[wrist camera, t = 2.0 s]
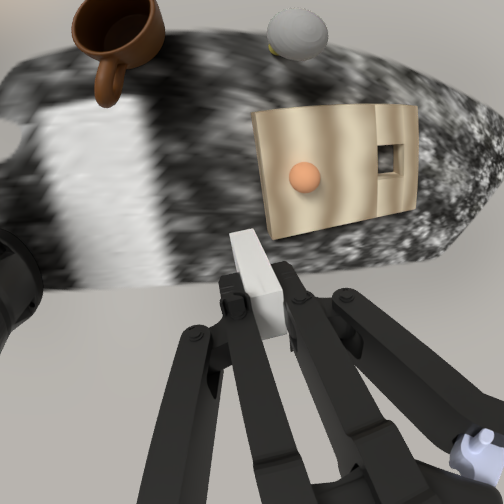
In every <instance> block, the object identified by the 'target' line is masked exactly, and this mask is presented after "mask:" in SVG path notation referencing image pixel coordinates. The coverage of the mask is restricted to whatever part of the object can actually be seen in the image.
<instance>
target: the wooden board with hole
mask: <svg viewBox="0 0 504 504" xmlns="http://www.w3.org/2000/svg"><path fill="white" fill-rule="evenodd" d="M251 118H252V124H253V131H254V138H255V144H256V151H257V158H258V165H259V172H260V179H261V186H262V193H263V200H264V207H265V215H266V222H267V230H268V233H269V234H270V236H271V238H272V239H273V240H275V239H280V238H284V237H289V236H293V235H298V234H302V233H307V232H311V231H316V230H320V229H325V228H330V227H334V226H339V225H343V224H348V223H353V222H357V221H362V220H366V219H371V218H376V217H380V216H385V215H390V214H394V213H399V212H404V211H408V210H413V209H416V198H417V183H418V150H419V139H418V107H417V106H412V105H401V104H335V105H317V106H303V107H292V108H282V109H273V110H265V111H258V112H251ZM391 144H393V153H394V169H393V172H390V173H382V174H378V156H377V145H391ZM300 162H309V163H311V164H313V165H315V166H316V167H317V169H318V170H319V172H320V177H321V179H320V183H319V186H318V187H317V188H316V189H315V190H314V191H312V192H310V193H300V192H298V191H296V190H295V189H294V188H293V187H292V186H291V184H290V181H289V173H290V170H291V169H292V167H293V166H294V165H296V164H298V163H300Z"/></svg>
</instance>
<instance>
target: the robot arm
mask: <svg viewBox="0 0 504 504" xmlns="http://www.w3.org/2000/svg"><path fill="white" fill-rule="evenodd" d="M229 235H230V240H231V245H232V249H233V254H234V259H235V264H236V269H237V273H233V274H229V275H224V276H221V278H220V280H219V282H218V283H219V289H220V294H221V299H220V307H221V311H222V314H223V317H222V319H221V320H220V321H219V322H218V323H217V324H215V325H214V326H212V327H210V328H208V327H206V326H204V325H193V326H191V327H188V328H187V329H186V330H185V331H183V333H182V335H181V338H180V341H179V344H178V348H177V351H176V354H175V357H174V361H173V365H172V368H171V371H170V375H169V378H168V382H167V385H166V389H165V392H164V396H163V399H162V403H161V406H160V410H159V414H158V417H157V421H156V425H155V429H154V433H153V437H152V441H151V444H150V448H149V452H148V456H147V460H146V465H145V469H144V473H143V477H142V481H141V486H140V490H139V495H138V499H137V504H206V500H207V492H208V484H209V476H210V468H211V460H212V453H213V446H214V438H215V431H216V423H217V416H218V408H219V402H220V394H221V387H222V380H223V373H224V370H223V369H225V368H227V367H229V366H230V365H232V366H233V371H234V376H235V381H236V386H237V391H238V395H239V401H240V405H241V410H242V415H243V419H244V423H245V428H246V433H247V437H248V442H249V445H250V450H251V455H252V458H253V468H254V473H255V478H256V482H257V486H258V490H259V494H260V498H261V502H262V504H503V501H502V497H501V494H500V492H499V491H498V490H497V489H496V488H495V487H496V485H497V482H498V480H499V478H500V475H501V472H502V470H503V467H504V401H502V400H499V399H497V398H494V397H491V396H489V395H486V394H484V393H482V392H481V391H480V390H479V389H478V388H477V387H475V386H474V385H473V384H472V383H471V382H469V381H468V380H467V379H466V378H465V377H464V376H462V375H461V374H460V373H459V372H458V371H457V370H455V369H454V368H453V367H451V365H449V364H448V363H447V362H446V361H445V360H443V359H442V358H441V357H440V356H439V355H437V354H436V353H435V352H434V351H432V350H431V349H430V348H429V347H428V346H426V345H425V344H424V343H422V342H421V341H420V340H419V339H417V338H416V337H415V336H414V335H413V334H411V333H410V332H409V331H408V330H406V329H405V328H404V327H403V326H401V325H400V324H399V323H398V322H396V321H395V320H394V319H393V318H391V317H390V316H389V315H387V314H386V313H385V312H384V311H382V310H381V309H380V308H378V307H377V306H376V305H374V304H373V303H372V302H371V301H369V300H368V299H367V298H366V297H364V296H363V295H362V294H360V293H359V292H358V291H356V290H354V289H351V288H341V289H338V290H337V291H335V292H334V293H333V295H332V298H318V297H315V296H314V295H313V294H312V293H311V292H309V291H306V289H305V287H304V286H303V284H302V283H301V281H300V279H299V277H298V276H297V274H296V272H295V271H294V269H293V267H292V265H291V264H289V263H287V262H286V261H283V262H278V263H274V264H270V263H269V260H268V258H267V256H266V254H265V252H264V250H263V248H262V246H261V244H260V242H259V240H258V238H257V235H256V233H255V231H254V229H248V230H243V231H239V232H234V233H230V234H229ZM42 295H43V282H42V277H41V273H40V270H39V268H38V266H37V263H36V261H35V260H34V258H33V256H32V255H31V253H30V252H29V250H28V249H27V248H26V246H25V245H24V244H23V243H22V242H21V241H20V240H19V239H18V238H16V237H15V236H14V235H12V234H11V233H9V232H7V231H5V230H2V229H0V353H1V351H2V349H3V347H4V345H5V343H6V340H7V339H8V337H9V335H10V333H11V332H12V331H13V330H14V329H15V328H17V327H18V326H19V325H21V324H22V323H23V322H25V321H26V320H27V319H29V318H30V317H31V316H32V315H33V314H34V312H35V311H36V309H37V307H38V305H39V304H40V302H41V299H42ZM286 328H287V329H286ZM287 330H288V332H289V338H290V350H291V352H292V351H294V353H295V356H296V358H297V360H298V363H299V366H300V368H301V371H302V373H303V375H304V378H305V380H306V383H307V385H308V388H309V390H310V393H311V395H312V398H313V400H314V403H315V405H316V408H317V410H318V413H319V415H320V418H321V420H322V423H323V425H324V428H325V430H326V433H327V435H328V438H329V440H330V442H331V445H332V448H333V450H334V453H335V455H336V457H337V461H338V468H339V472H340V475H341V479H340V480H338V481H336V482H330V483H321V484H310V481H309V478H308V475H307V472H306V469H305V466H304V463H303V461H302V458H301V456H300V454H299V452H298V450H297V448H296V444H295V442H294V439H293V435H292V432H291V429H290V426H289V423H288V420H287V417H286V414H285V411H284V408H283V405H282V402H281V399H280V396H279V393H278V390H277V387H276V383H275V381H274V377H273V374H272V371H271V368H270V364H269V361H268V358H267V355H266V352H265V349H264V346H263V342H262V340H265V339H269V338H273V337H277V336H281V335H285V334H287ZM355 366H356V367H357V368H358V369H359V370H360V371H361V372H362V373H363V374H365V376H366V377H367V378H368V379H369V380H370V381H371V382H372V383H373V384H374V385H375V386H376V387H377V388H378V389H379V390H380V391H381V392H382V393H383V394H384V395H385V396H386V397H387V398H388V399H389V400H390V401H391V402H392V403H393V404H394V405H395V406H396V407H397V408H398V409H399V410H400V411H401V412H402V413H403V414H404V415H405V416H406V417H407V418H408V419H409V420H410V421H411V422H412V423H413V424H414V425H415V426H416V427H417V428H418V429H419V430H420V431H421V432H422V433H423V434H424V435H425V436H426V437H427V438H428V439H429V440H430V441H431V442H432V443H433V444H434V445H436V446H437V447H438V448H440V449H441V450H443V451H444V452H446V453H448V454H450V461H449V465H450V467H451V468H453V469H456V470H458V471H459V472H460V474H461V476H460V475H457V474H454V473H451V472H448V471H445V470H442V469H440V468H437V467H434V466H432V465H429V464H426V463H424V462H421V461H419V460H415V459H414V458H413V456H412V454H411V452H410V450H409V448H408V446H407V445H406V443H405V441H404V439H403V437H402V435H401V433H400V432H399V430H398V428H397V426H396V425H395V424H394V423H393V422H392V421H391V420H386V419H385V418H384V417H383V415H382V414H381V412H380V410H379V408H378V406H377V405H376V403H375V401H374V399H373V397H372V395H371V394H370V392H369V390H368V388H367V386H366V385H365V383H364V381H363V379H362V378H361V376H360V374H359V372H358V370H357V369H356V367H355Z"/></svg>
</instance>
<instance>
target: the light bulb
mask: <svg viewBox="0 0 504 504" xmlns="http://www.w3.org/2000/svg"><path fill="white" fill-rule="evenodd" d="M267 39H268V42H269V50H270V52H271V53H272V54H274V55H277V56H282V57H284V58H286V59H289V60H294V61H305V60H309V59H312V58H314V57H316V56H318V55H319V54H320V53H321V52H322V51H323V50H324V49H325V47H326V45H327V42H328V30H327V27H326V25H325V23H324V22H323V20H322V19H321V18H320V17H319V16H318V15H316V14H315V13H313V12H311V11H309V10H306V9H302V8H290V9H285V10H283V11H281V12H279V13H278V14H276V15H275V16H274V17H273V18H272V19H271V21H270V22H269V25H268V28H267Z"/></svg>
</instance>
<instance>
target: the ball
mask: <svg viewBox="0 0 504 504" xmlns="http://www.w3.org/2000/svg"><path fill="white" fill-rule="evenodd" d="M320 179H321V177H320V172H319V170H318V169H317V167H316V166H315V165H313V164H311V163H309V162H300V163H298V164H296V165H294V166H293V167H292V169H291V170H290V173H289V181H290V184H291V186H292V187H293V188H294V189H295V190H296V191H298V192H300V193H310V192H312V191H314V190H315V189H316V188H317V187H318V186H319V183H320Z"/></svg>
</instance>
